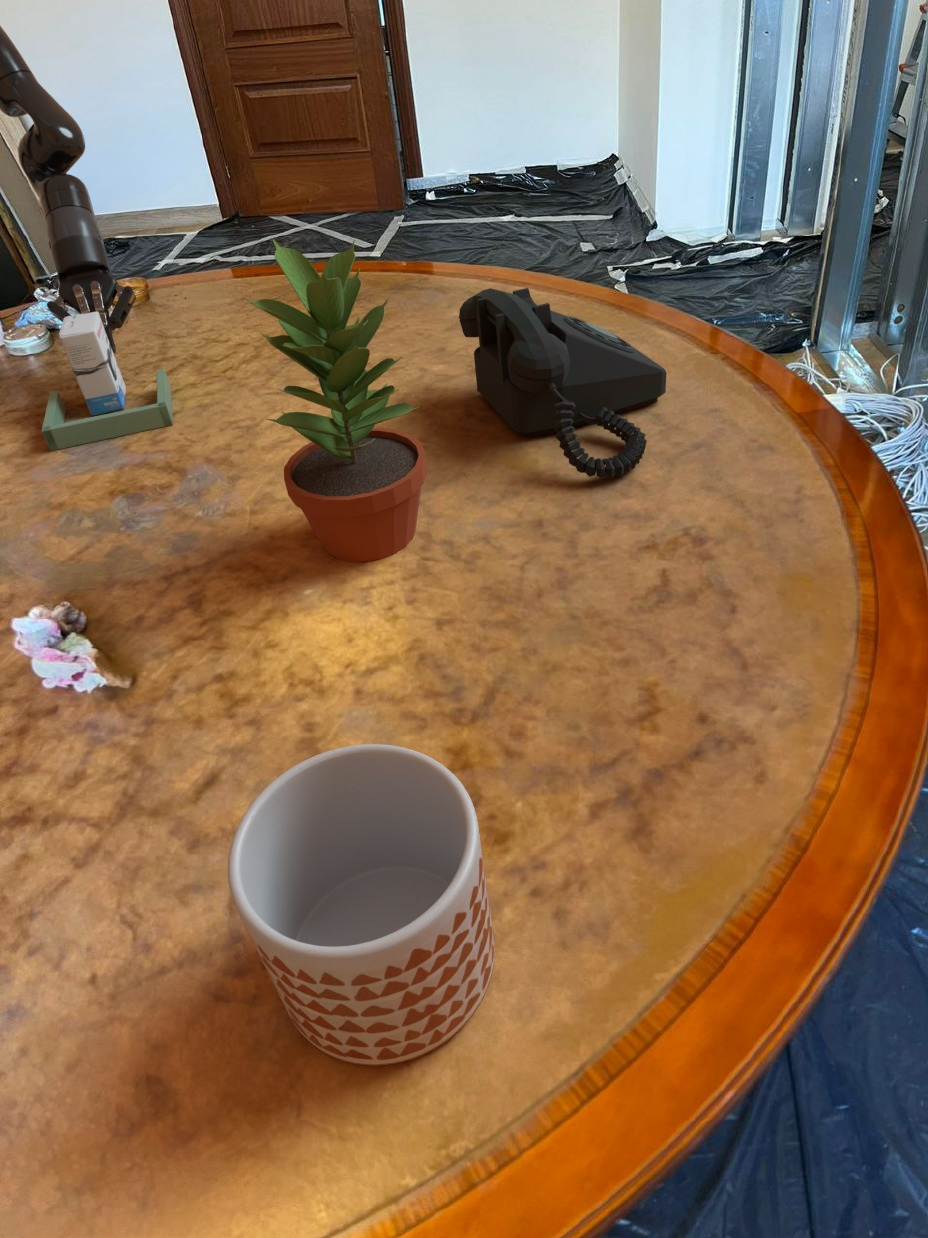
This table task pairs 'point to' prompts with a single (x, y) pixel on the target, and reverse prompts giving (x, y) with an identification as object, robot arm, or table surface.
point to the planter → (367, 901)
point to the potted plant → (345, 418)
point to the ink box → (93, 362)
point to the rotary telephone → (559, 375)
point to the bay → (106, 420)
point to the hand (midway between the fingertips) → (106, 356)
